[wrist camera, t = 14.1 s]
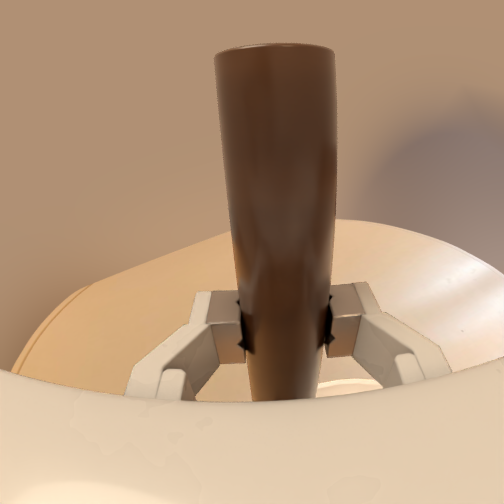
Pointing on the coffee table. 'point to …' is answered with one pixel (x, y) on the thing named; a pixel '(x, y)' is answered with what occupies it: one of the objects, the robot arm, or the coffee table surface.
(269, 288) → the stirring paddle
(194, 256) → the coffee table surface
